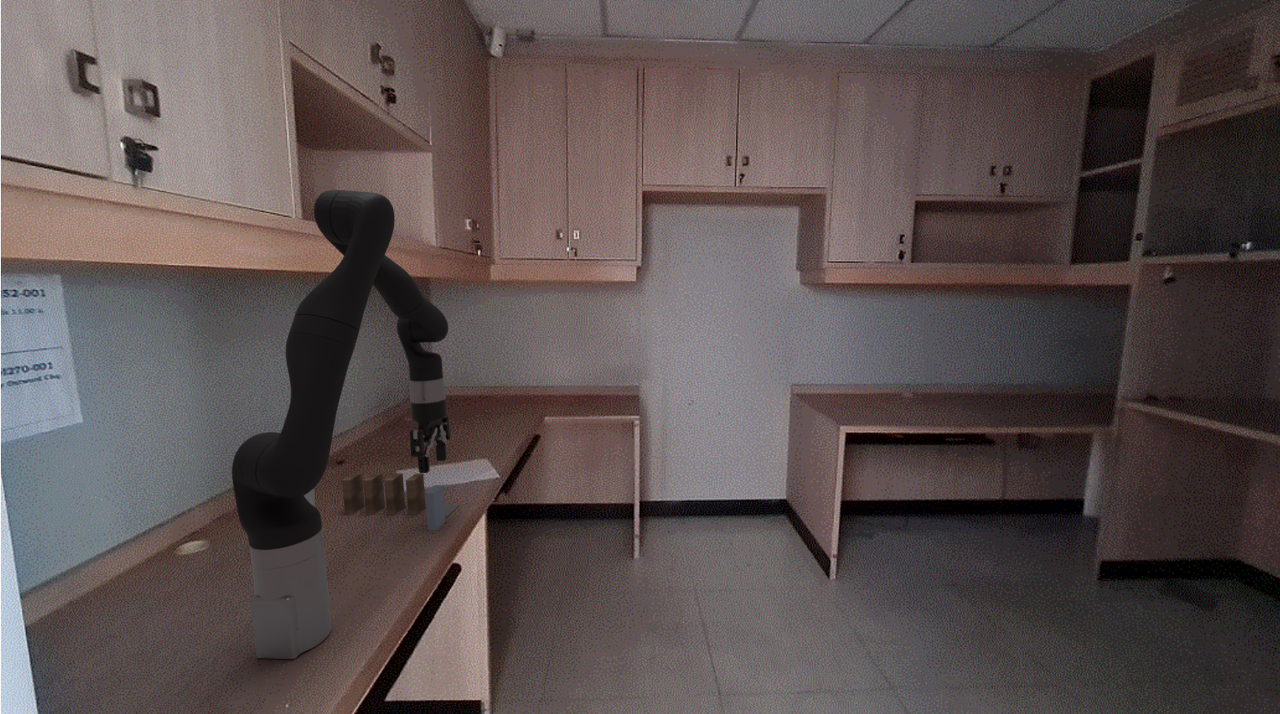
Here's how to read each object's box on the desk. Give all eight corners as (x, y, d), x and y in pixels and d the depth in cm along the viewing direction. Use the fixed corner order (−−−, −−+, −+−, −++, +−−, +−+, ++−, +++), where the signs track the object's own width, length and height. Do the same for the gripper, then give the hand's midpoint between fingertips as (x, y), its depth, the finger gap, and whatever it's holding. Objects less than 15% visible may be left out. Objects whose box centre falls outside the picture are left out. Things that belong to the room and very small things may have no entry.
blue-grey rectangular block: (436, 530, 116) (433, 493, 115) (427, 530, 116) (425, 493, 115) (445, 520, 121) (443, 485, 120) (437, 520, 121) (435, 485, 120)
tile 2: (416, 515, 124) (413, 480, 123) (408, 515, 125) (405, 480, 124) (425, 506, 129) (423, 473, 128) (418, 506, 130) (415, 473, 129)
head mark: (447, 517, 123) (447, 516, 123) (431, 516, 123) (431, 516, 123) (459, 505, 130) (459, 504, 130) (444, 505, 130) (444, 504, 130)
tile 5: (352, 514, 126) (349, 480, 125) (345, 514, 126) (341, 480, 125) (364, 506, 130) (361, 473, 129) (357, 506, 131) (354, 473, 130)
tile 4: (373, 514, 125) (370, 480, 124) (366, 514, 125) (362, 480, 124) (385, 506, 130) (382, 473, 129) (377, 506, 130) (374, 473, 129)
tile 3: (394, 515, 125) (392, 480, 124) (387, 514, 125) (384, 480, 124) (405, 506, 130) (402, 473, 129) (398, 506, 130) (395, 473, 129)
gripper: (429, 405, 108) (434, 477, 110) (457, 392, 122) (461, 456, 124) (395, 405, 108) (401, 477, 110) (427, 392, 122) (432, 456, 124)
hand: (433, 466), depth 117 cm, fingers open, 8 cm apart
